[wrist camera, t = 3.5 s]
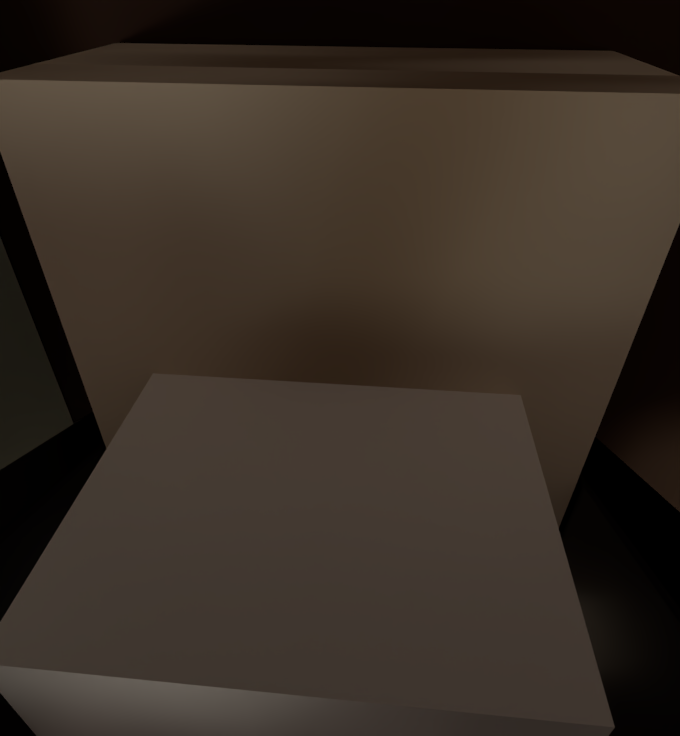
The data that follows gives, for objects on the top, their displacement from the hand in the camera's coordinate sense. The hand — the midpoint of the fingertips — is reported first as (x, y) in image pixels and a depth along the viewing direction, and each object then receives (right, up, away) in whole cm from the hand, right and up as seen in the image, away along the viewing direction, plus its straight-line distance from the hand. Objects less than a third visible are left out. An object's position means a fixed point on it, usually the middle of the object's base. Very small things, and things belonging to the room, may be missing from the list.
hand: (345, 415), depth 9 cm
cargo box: (0, -1, -2) cm, 2 cm away
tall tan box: (0, +1, +1) cm, 1 cm away
